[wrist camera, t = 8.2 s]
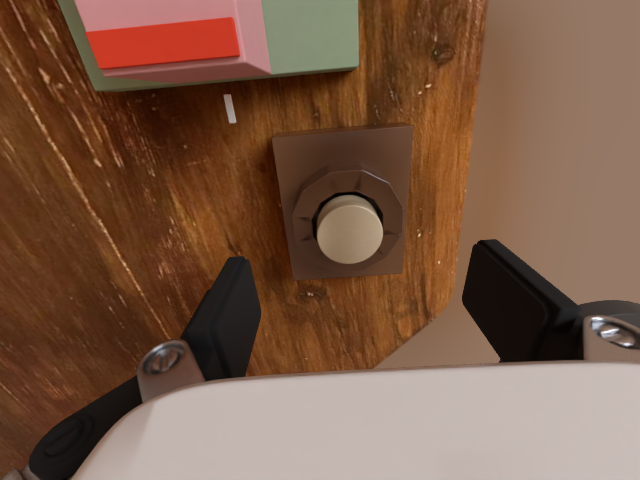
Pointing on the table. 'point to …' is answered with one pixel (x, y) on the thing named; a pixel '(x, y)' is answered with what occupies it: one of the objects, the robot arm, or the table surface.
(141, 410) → the robot arm
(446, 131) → the table surface
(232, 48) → the pink bar
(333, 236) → the button
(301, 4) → the green mat
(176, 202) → the table surface
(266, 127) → the table surface
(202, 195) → the table surface
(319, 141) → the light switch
